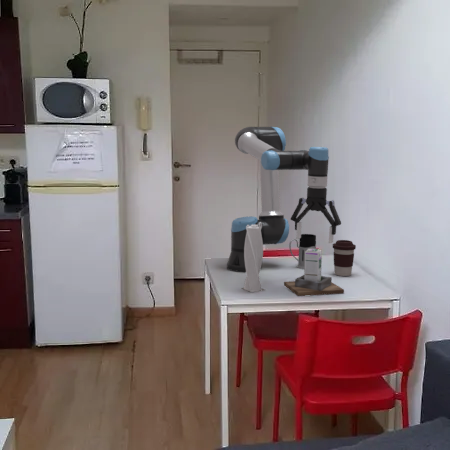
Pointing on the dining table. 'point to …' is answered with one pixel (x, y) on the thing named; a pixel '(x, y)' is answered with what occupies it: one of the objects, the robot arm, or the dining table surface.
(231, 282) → the dining table surface
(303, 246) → the glass holder
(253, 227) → the skyscraper
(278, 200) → the robot arm
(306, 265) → the syrup box
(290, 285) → the socket board
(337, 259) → the coffee cup
